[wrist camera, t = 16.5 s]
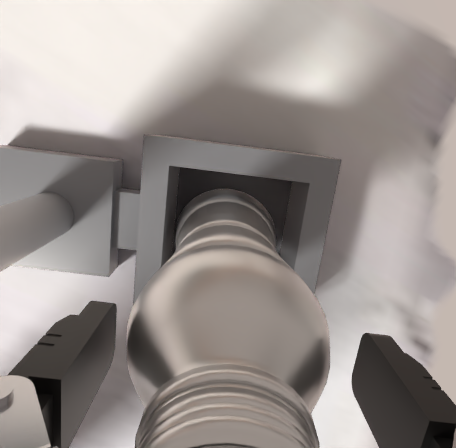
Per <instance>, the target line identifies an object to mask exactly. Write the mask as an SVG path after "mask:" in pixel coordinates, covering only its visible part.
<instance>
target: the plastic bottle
mask: <svg viewBox="0 0 456 448" xmlns="http://www.w3.org/2000/svg"><path fill="white" fill-rule="evenodd" d="M175 245H176V251H175V253H174V254H173V256H172V257H171V258H170V259H169V260H168V261H167V262H166V263H165V264H164V265H163V266H162V267H161V268H160V269H159V270H158V271H157V272H156V273H155V274H154V276H153V277H152V278H151V279H150V280H149V281H148V283H147V284H146V286H145V287H144V288H143V290H142V291H141V293H140V294H139V296H138V298H137V300H136V301H135V303H134V305H133V307H132V310H131V313H130V316H129V320H128V323H127V338H126V349H127V364H128V369H129V375H130V378H131V380H132V383H133V385H134V387H135V390H136V392H137V394H138V396H139V398H140V400H141V402H142V404H143V406H144V408H145V409H144V412H143V416H142V419H141V422H140V425H139V428H138V431H137V434H136V438H135V448H319V440H318V437H317V433H316V430H315V426H314V422H313V419H312V415H311V413H312V411H313V409H314V407H315V405H316V403H317V402H318V400H319V398H320V396H321V394H322V391H323V389H324V387H325V385H326V383H327V378H328V374H329V369H330V340H329V329H328V325H327V321H326V317H325V314H324V312H323V310H322V308H321V306H320V304H319V302H318V300H317V298H316V297H315V295H314V294H313V293H312V291H311V290H310V289H309V287H308V286H307V285H306V283H305V282H304V281H303V280H302V279H301V277H300V276H299V275H298V274H297V273H296V272H295V271H294V270H293V269H292V268H291V267H290V266H289V265H288V264H287V263H286V262H285V261H284V260H283V259H282V258H281V257H280V256H279V254H278V253H277V251H276V246H277V244H276V230H275V226H274V222H273V220H272V218H271V216H270V214H269V212H268V211H267V209H266V208H265V207H264V206H263V204H261V203H260V202H259V201H258V200H257V199H255V198H254V197H252V196H250V195H249V194H247V193H244V192H241V191H238V190H234V189H214V190H210V191H206V192H204V193H202V194H200V195H198V196H196V197H195V198H194V199H192V200H191V201H190V202H189V203H188V204H187V205H186V206H185V207H184V209H183V210H182V212H181V214H180V216H179V218H178V221H177V224H176V231H175Z"/></svg>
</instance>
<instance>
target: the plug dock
mask: <svg viewBox="0 0 456 448" xmlns="http://www.w3.org/2000/svg"><path fill="white" fill-rule="evenodd" d="M340 164H341V160H340V159H335V158H330V157H325V156H320V155H313V154H305V153H298V152H290V151H282V150H274V149H266V148H259V147H251V146H243V145H235V144H227V143H220V142H212V141H204V140H196V139H188V138H180V137H173V136H165V135H144V141H143V157H142V173H141V189H140V190H134V189H126V188H121V187H122V167H123V160H121V159H113V158H105V157H97V156H89V155H81V154H73V153H65V152H57V151H49V150H41V149H33V148H25V147H17V146H9V145H0V272H1V271H2V270H4V269H6V268H8V267H9V266H17V267H26V268H35V269H44V270H53V271H61V272H70V273H79V274H88V275H97V276H106V277H109V276H110V275H111V274H112V273H113V271H114V270H115V269H116V268H117V267H118V248H120V249H129V250H137V253H136V268H135V284H134V300H133V305H134V303H135V301H136V300H137V298H138V296H139V294H140V293H141V291H142V290H143V288H144V287H145V286H146V284H147V283H148V281H149V280H150V279H151V278H152V277H153V276H154V274H155V273H156V272H157V271H158V270H159V269H160V268H161V267H162V266H163V265H164V264H165V263H166V262H167V261H168V260H169V259H170V258H171V257H172V250H173V239H174V227H175V216H176V205H177V194H178V183H179V172H180V167H184V168H192V169H200V170H208V171H216V172H224V173H232V174H240V175H248V176H256V177H264V178H272V179H280V180H288V181H292V185H291V190H290V196H289V202H288V208H287V214H286V220H285V226H284V231H283V237H282V243H281V249H280V255H279V256H280V257H281V258H282V259H283V260H284V261H285V262H286V263H287V264H288V265H289V266H290V267H291V268H292V269H293V270H294V271H295V272H296V273H297V274H298V275H299V276H300V277H301V279H302V280H303V281H304V282H305V283H306V285H307V286H308V287H309V289H310V290H311V291H312V293H313V294H314V292H315V287H316V282H317V277H318V272H319V267H320V262H321V258H322V253H323V248H324V243H325V238H326V233H327V228H328V223H329V218H330V213H331V208H332V203H333V198H334V193H335V188H336V184H337V179H338V174H339V169H340Z"/></svg>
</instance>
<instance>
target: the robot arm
mask: <svg viewBox="0 0 456 448" xmlns="http://www.w3.org/2000/svg"><path fill="white" fill-rule="evenodd" d="M116 313H117V308H116V304H115V303H106V302H97V301H91V302H89V304H88V305H87V306H86V307H85V308H84V310H83V311H82V312H81V313H80V314H79V316H78V315H69V316H67V317H65V318H63V319H62V320H60V321H58V322H56V323H55V324H54V325H53V326H52V327H51V328H50V329H49V331H48V332H47V333H46V335H44V336H43V337H42V338H41V339H40V340H39V341H38V344H37V345H35V346H34V347H33V348H32V349H31V350H30V351H29V352H28V353H27V354H26V356H25V357H24V358H23V359H22V360H21V361H20V362H19V363H18V364H17V365H16V366H15V368H14V369H13V370H12V371H11V372H10V373H9V374H8V375H7V376H1V377H0V448H69V446H70V444H71V442H72V440H73V438H74V436H75V434H76V432H77V430H78V428H79V426H80V424H81V422H82V420H83V419H84V417H85V415H86V413H87V411H88V409H89V407H90V405H91V403H92V401H93V399H94V397H95V395H96V393H97V391H98V389H99V387H100V385H101V383H102V381H103V379H104V378H105V376H106V374H107V372H108V370H109V368H110V365H111V363H112V359H113V355H114V350H115V334H116ZM352 389H353V393H354V396H355V398H356V400H357V402H358V404H359V406H360V408H361V410H362V413H363V415H364V417H365V419H366V421H367V423H368V425H369V427H370V429H371V431H372V433H373V436H374V438H375V440H376V442H377V444H378V446H379V448H456V405H455V404H454V403H453V402H452V400H451V399H450V398H449V397H448V396H447V394H446V393H445V392H444V391H442V390H441V387H440V386H439V385H438V383H437V382H436V381H435V380H433V379H432V376H431V375H430V374H429V373H428V371H427V370H426V369H425V368H424V367H423V365H422V364H420V363H419V362H418V361H416V360H415V359H413V358H412V357H411V356H409V355H408V354H407V353H404V352H403V351H402V350H401V348H400V347H399V346H398V345H397V343H396V342H395V341H394V340H393V338H392V337H391V336H388V335H380V334H371V333H365V334H364V335H363V336H362V338H361V341H360V345H359V349H358V353H357V357H356V361H355V365H354V369H353V373H352Z"/></svg>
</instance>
